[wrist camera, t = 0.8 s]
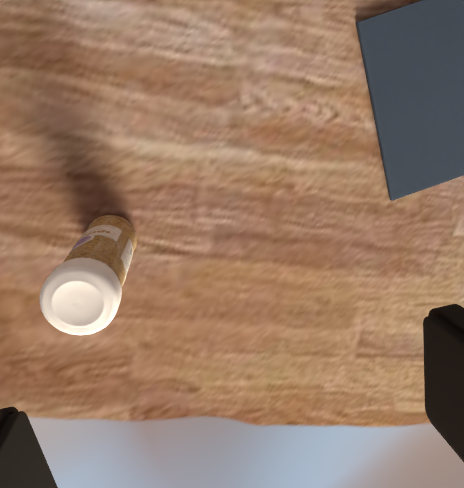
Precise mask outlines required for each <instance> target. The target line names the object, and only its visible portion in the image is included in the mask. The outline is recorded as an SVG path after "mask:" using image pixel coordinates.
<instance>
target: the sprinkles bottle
mask: <svg viewBox="0 0 464 488" xmlns="http://www.w3.org/2000/svg"><path fill="white" fill-rule="evenodd" d="M136 243H137V237H136V233H135V230H134V228H133V226H132V225H131V223H130V222H128V221H127V220H126V219H124V218H122V217H119V216H116V215H105V216H101V217H99V218H97V219H95V220H94V221H92V223H91V224H90V225H89V227H88V228H87V231H86V232H85V233H84V234H83V235H82V237H81V238H80V239H79V241H78V242H77V243H76V245H75V246H74V247H73V249H72V250H71V251H70V253H69V255H68V257H67V258H66V259H65V261H64V262H63V263H61V264H60V265H59V266H57V267H56V268H55V269H54V270H53V272H52V273H51V274H50V275H49V277H48V278H47V279H46V281H45V282H44V284H43V286H42V289H41V292H40V299H39V300H40V307H41V310H42V313H43V314H44V316H45V318H46V319H47V320H48V321H49V323H50V324H51V325H53V326H54V327H55V328H57V329H59V330H60V331H63V332H65V333H68V334H73V335H87V334H92V333H95V332H98V331H100V330H101V329H103V328H105V327H106V326H107V325H108V324H109V323H110V322H111V321H112V320H113V318H114V316H115V314H116V312H117V310H118V307H119V304H120V301H121V296H122V289H121V288H122V286H123V284H124V281H125V279H126V275H127V272H128V269H129V266H130V262H131V259H132V255H133V251H134V250H135V247H136Z"/></svg>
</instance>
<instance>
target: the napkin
mask: <svg viewBox="0 0 464 488" xmlns="http://www.w3.org/2000/svg"><path fill="white" fill-rule="evenodd" d="M356 25H357V30H358V35H359V40H360V46H361V51H362V56H363V61H364V67H365V72H366V77H367V82H368V87H369V93H370V98H371V103H372V108H373V114H374V119H375V124H376V129H377V134H378V140H379V145H380V150H381V155H382V160H383V166H384V171H385V176H386V181H387V187H388V192H389V197H390V200H395V199H398V198H401V197H404V196H406V195H409V194H412V193H415V192H418V191H421V190H423V189H426V188H429V187H432V186H435V185H437V184H440V183H443V182H446V181H449V180H452V179H454V178H457V177H460V176H463V175H464V0H420V1H417V2H415V3H412V4H409V5H406V6H403V7H400V8H397V9H394V10H391V11H388V12H385V13H382V14H379V15H376V16H373V17H371V18H368V19H365V20H362V21H359V22H357V23H356Z"/></svg>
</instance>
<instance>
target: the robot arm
mask: <svg viewBox="0 0 464 488" xmlns="http://www.w3.org/2000/svg"><path fill="white" fill-rule="evenodd" d="M423 332H424V380H425V410H426V413H427V416H428V418H429V420H430V422H431V423H432V425H433V426H434V427H435V428H436V429H437V431H438V432H439V433H440V434H441V435H442V436H443V438H444V439H445V440H446V441H447V443H448V444H449V445H450V446H451V447H452V449H453V450H454V451H455V452H456V453H457V455H458V456H459V457H460V458H461V459H462V461H463V462H464V308H463V307H461V306H460V305H457V304H452V305H448V306H443V307H439V308H435V309H432V310H430V312H429V316H428V317H425V318H424V322H423ZM0 488H58V487H57V485H56V483H55V480H54V478H53V476H52V473H51V471H50V469H49V466H48V464H47V462H46V459H45V457H44V454H43V452H42V450H41V447H40V445H39V443H38V440H37V438H36V436H35V433H34V431H33V428H32V426H31V424H30V421H29V419H28V417H27V415H26V413H25V412H23V411H20V412H18V410H17V409H16V408H15V407H8V408H3V409H0Z"/></svg>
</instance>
